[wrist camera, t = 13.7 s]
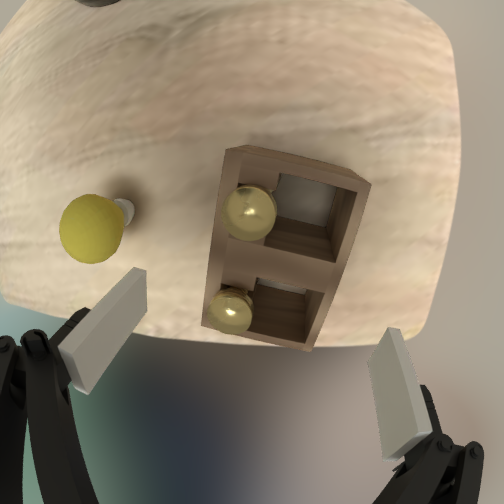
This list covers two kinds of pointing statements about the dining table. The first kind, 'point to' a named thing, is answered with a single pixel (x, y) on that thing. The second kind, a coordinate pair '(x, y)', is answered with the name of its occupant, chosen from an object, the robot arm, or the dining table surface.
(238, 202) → the post
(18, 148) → the dining table surface
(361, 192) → the keyhole block
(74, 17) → the dining table surface
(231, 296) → the post
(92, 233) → the light bulb
